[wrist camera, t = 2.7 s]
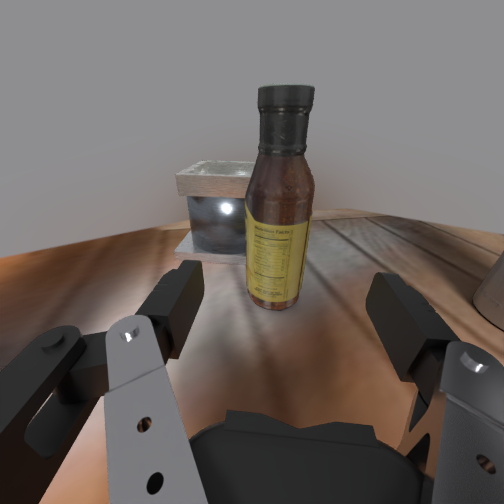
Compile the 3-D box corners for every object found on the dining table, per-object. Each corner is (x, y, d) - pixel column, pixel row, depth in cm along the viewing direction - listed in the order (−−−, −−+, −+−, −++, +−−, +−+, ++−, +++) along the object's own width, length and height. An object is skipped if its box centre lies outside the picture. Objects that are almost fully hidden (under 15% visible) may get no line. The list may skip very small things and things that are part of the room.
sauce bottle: (266, 272, 30) (278, 93, 20) (309, 292, 27) (347, 88, 17) (233, 297, 26) (226, 83, 16) (278, 325, 22) (306, 74, 12)
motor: (273, 231, 42) (278, 162, 36) (272, 266, 31) (279, 178, 25) (199, 227, 43) (192, 159, 37) (175, 260, 32) (160, 174, 26)
